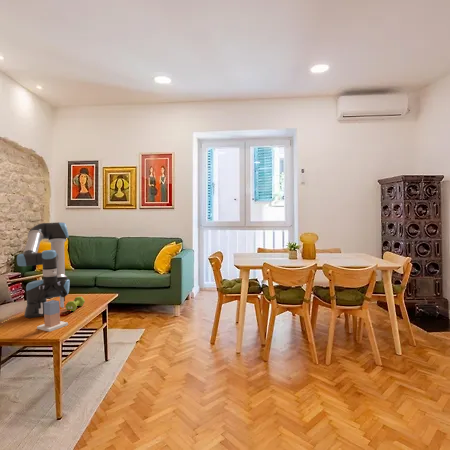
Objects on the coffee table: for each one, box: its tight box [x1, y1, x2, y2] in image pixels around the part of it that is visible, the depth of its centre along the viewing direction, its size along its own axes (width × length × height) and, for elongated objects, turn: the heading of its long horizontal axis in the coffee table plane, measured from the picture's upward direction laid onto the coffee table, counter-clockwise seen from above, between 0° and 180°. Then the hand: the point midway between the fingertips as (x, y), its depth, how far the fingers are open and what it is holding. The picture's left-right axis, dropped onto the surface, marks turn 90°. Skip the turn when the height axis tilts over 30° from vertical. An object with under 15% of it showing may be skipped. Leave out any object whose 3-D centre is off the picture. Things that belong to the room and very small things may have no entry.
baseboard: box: [36, 320, 69, 333], centre depth 192 cm, size 12×12×2 cm
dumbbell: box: [64, 296, 85, 313], centre depth 230 cm, size 16×8×7 cm, turn 1°
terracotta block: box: [43, 312, 61, 327], centre depth 192 cm, size 6×6×7 cm
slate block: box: [44, 299, 61, 315], centre depth 191 cm, size 6×6×7 cm
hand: (51, 310), depth 192 cm, fingers open, 13 cm apart
